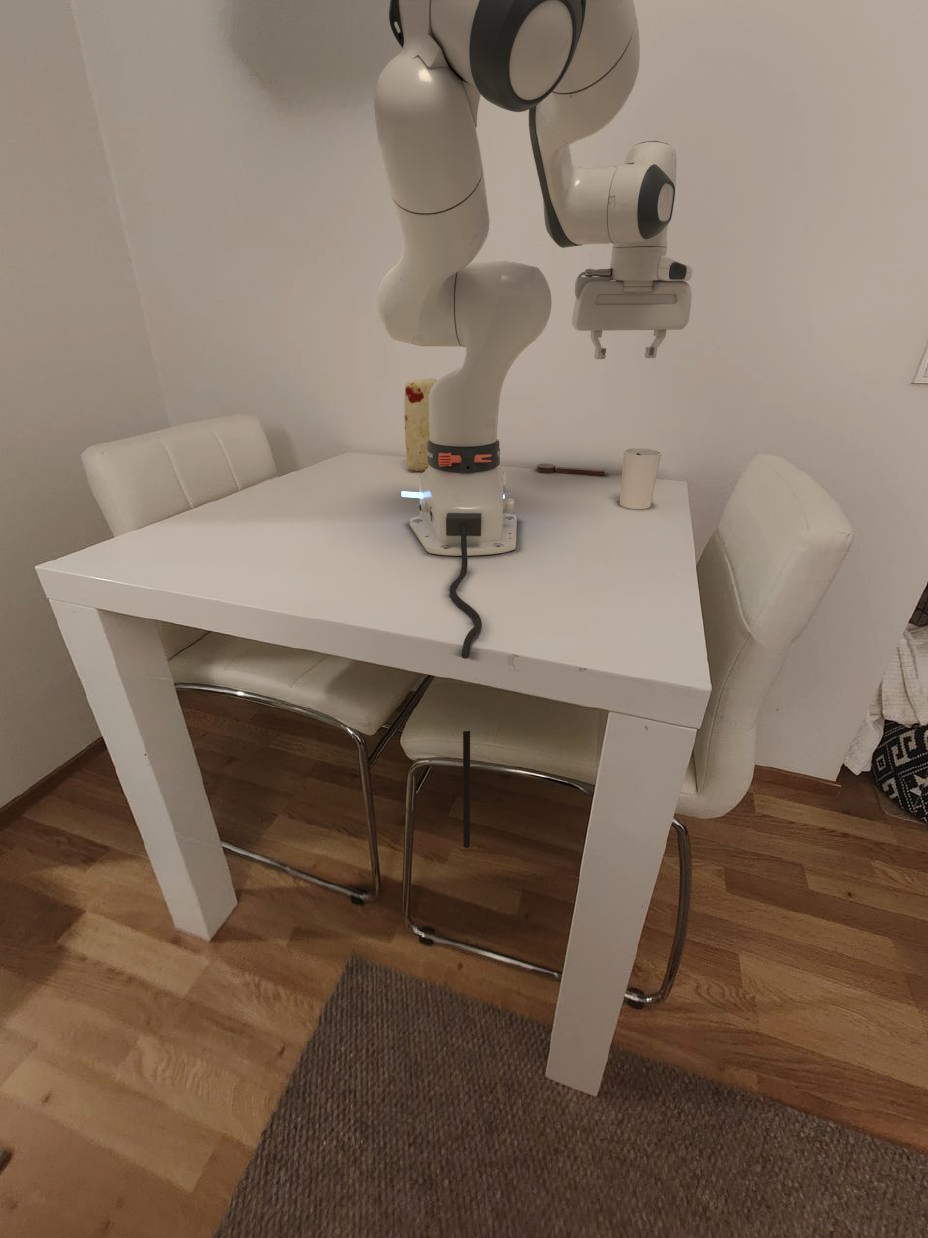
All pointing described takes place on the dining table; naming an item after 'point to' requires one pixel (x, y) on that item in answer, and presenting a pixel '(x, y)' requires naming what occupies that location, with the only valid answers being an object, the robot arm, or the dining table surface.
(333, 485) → the dining table surface
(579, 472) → the wooden spoon
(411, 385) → the food model
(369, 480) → the dining table surface
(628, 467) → the white cup
